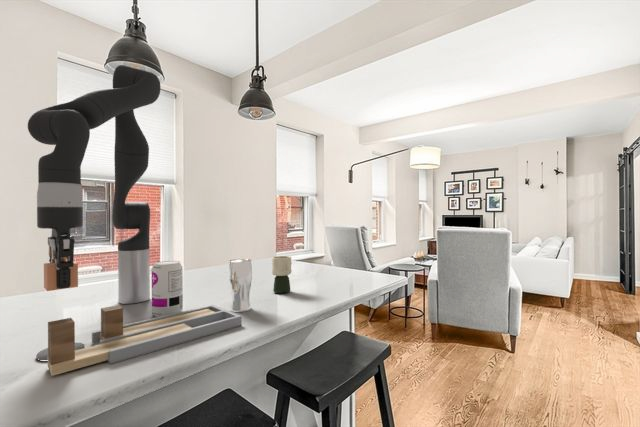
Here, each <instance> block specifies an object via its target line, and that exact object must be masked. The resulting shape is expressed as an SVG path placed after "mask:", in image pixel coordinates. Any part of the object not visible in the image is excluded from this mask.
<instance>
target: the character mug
mask: <svg viewBox="0 0 640 427" xmlns="http://www.w3.org/2000/svg"><path fill="white" fill-rule="evenodd" d="M271 261H272V262H271V269H272V270H271V271H272V272H271V274H272V275H273V276H275V277H274V282H273V292H274V293H283V294H285V293H288V292H290V291H291V282H290V278H289V275H291V273H292V271H293V270H292V256H290V255H279V256H278V255H276V256H272V258H271Z"/></svg>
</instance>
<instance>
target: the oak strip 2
mask: <svg viewBox="0 0 640 427" xmlns="http://www.w3.org/2000/svg"><path fill="white" fill-rule="evenodd" d="M210 313H214V311H212V310H209V309H204V310H200V311H196V312H191V313H187V314H183V315H178V316H174V317H170V318H166V319H161V320H157V321H153V322H148V323H144V324H140V325H135V326H131V327H127V328H123V325H124V307H122V306H121V305H120V304H116V305H111V306H106V307H100V330H101V334H100V340H104V339H108V338H112V337H116V336H120V335H124V334H128V333H132V332H136V331H140V330H145V329H149V328H153V327H157V326H161V325H165V324H169V323H173V322H177V321H181V320H185V319H190V318H194V317H198V316H202V315H206V314H210Z"/></svg>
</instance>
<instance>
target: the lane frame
mask: <svg viewBox="0 0 640 427" xmlns="http://www.w3.org/2000/svg"><path fill="white" fill-rule="evenodd" d="M204 309H209V310H212V311H214V313H210V314H206V315H202V316H198V317H194V318H190V319H185V320H181V321H177V322H173V323H169V324H165V325H161V326H157V327H153V328H149V329H145V330H140V331H136V332H132V333H128V334H124V335H120V336H116V337H112V338H108V339H104V340H100V334H101V329H100V330H99V329H98V330H94V331H91V344H92V343H93V344H94V345H93V344H92V345H93V346H95V345H99V344H103V343H107V342H111V341H115V340H119V339H123V338H127V337H131V336H135V335H139V334H143V333H147V332H151V331H155V330H159V329H163V328H167V327H171V326H175V325H179V324H183V323H184V324H186V325H187V326H189V327H191V328H190V329H186V330H182V331H179V332H175V333H171V334H167V335H164V336H160V337H156V338H152V339H149V340H145V341H141V342H137V343H134V344H130V345H126V346H123V347H119V348H115V349H111V350H109V360H106V362H107V363H108V364H109V365H114V364H116V363H120V362H124V361H126V360H130V359H134V358H137V357H141V356H143V355H146V354H149V353H154V352H156V351H157V352H158V351H161V350H164V349H167V348H168V349H169V348H170V347H174V346H177V345H180V344H184V343H189V342H191V341H194V340H197V339H202V338H204V337H208V336H211V335H215V334H219V333H221V332H224V331H227V330H232V329H235V328H238V327H242V324H243V323H242V315H241V314H237V313H236V312H232V311H231V310H227V309H225V308H222V307H220V306H217V305H214V304H211V305H206V306H201V307H197V308H192V309H189V310H182V311H181V312H179V313H174V314H170V315H165V316H161V317H152V318H148V319H143V320H139V321H134V322H131V323H126V324H123V328H127V327H131V326H135V325H140V324H144V323H148V322H153V321H157V320H161V319H166V318H170V317H174V316H178V315H183V314H187V313H191V312H196V311H200V310H204Z"/></svg>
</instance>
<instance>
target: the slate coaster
mask: <svg viewBox="0 0 640 427" xmlns="http://www.w3.org/2000/svg"><path fill="white" fill-rule="evenodd" d="M83 348H86V345H85V343H83V342H75V351H76V350H80V349H83ZM36 358H37V359H39V360H47V358H48V347H47V348H44V349H42V350H41V351H39V352H37V354H36V356H35V359H36ZM37 359H36V360H37Z"/></svg>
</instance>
